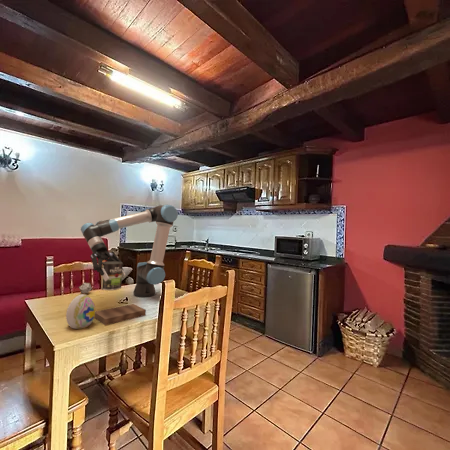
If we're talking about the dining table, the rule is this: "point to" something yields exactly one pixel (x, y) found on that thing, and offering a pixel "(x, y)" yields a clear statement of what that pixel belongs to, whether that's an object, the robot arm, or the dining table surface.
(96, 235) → the robot arm
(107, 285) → the coffee can
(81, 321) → the decorative egg
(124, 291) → the dining table surface
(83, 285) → the game die
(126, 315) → the walnut board
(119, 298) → the dining table surface
